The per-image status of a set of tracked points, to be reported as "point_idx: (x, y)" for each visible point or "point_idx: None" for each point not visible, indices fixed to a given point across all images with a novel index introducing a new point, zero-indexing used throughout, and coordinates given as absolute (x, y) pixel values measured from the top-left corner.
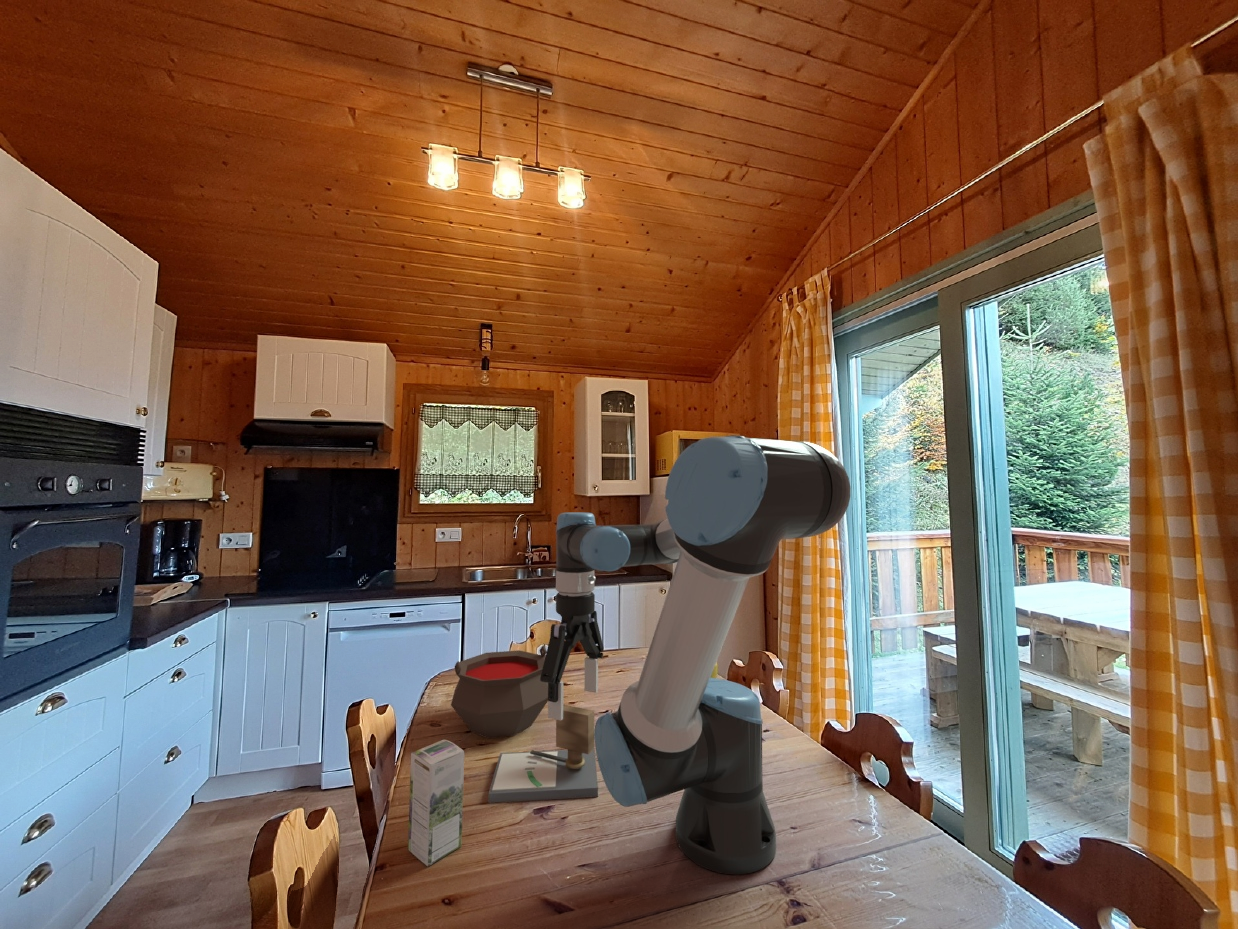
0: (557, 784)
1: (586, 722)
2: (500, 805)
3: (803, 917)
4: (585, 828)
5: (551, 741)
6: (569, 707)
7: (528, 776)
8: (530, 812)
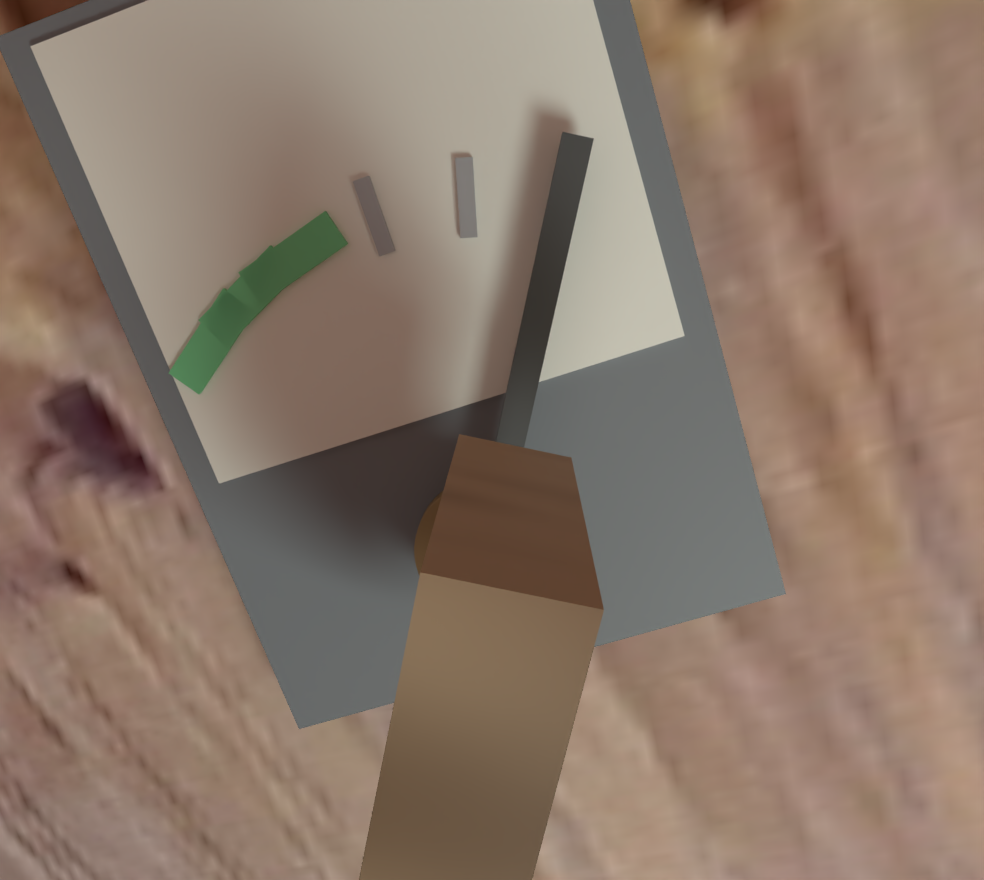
0: (258, 483)
1: None
2: (41, 150)
3: None
4: (34, 702)
5: (972, 165)
6: (515, 730)
7: (264, 254)
8: (48, 374)
